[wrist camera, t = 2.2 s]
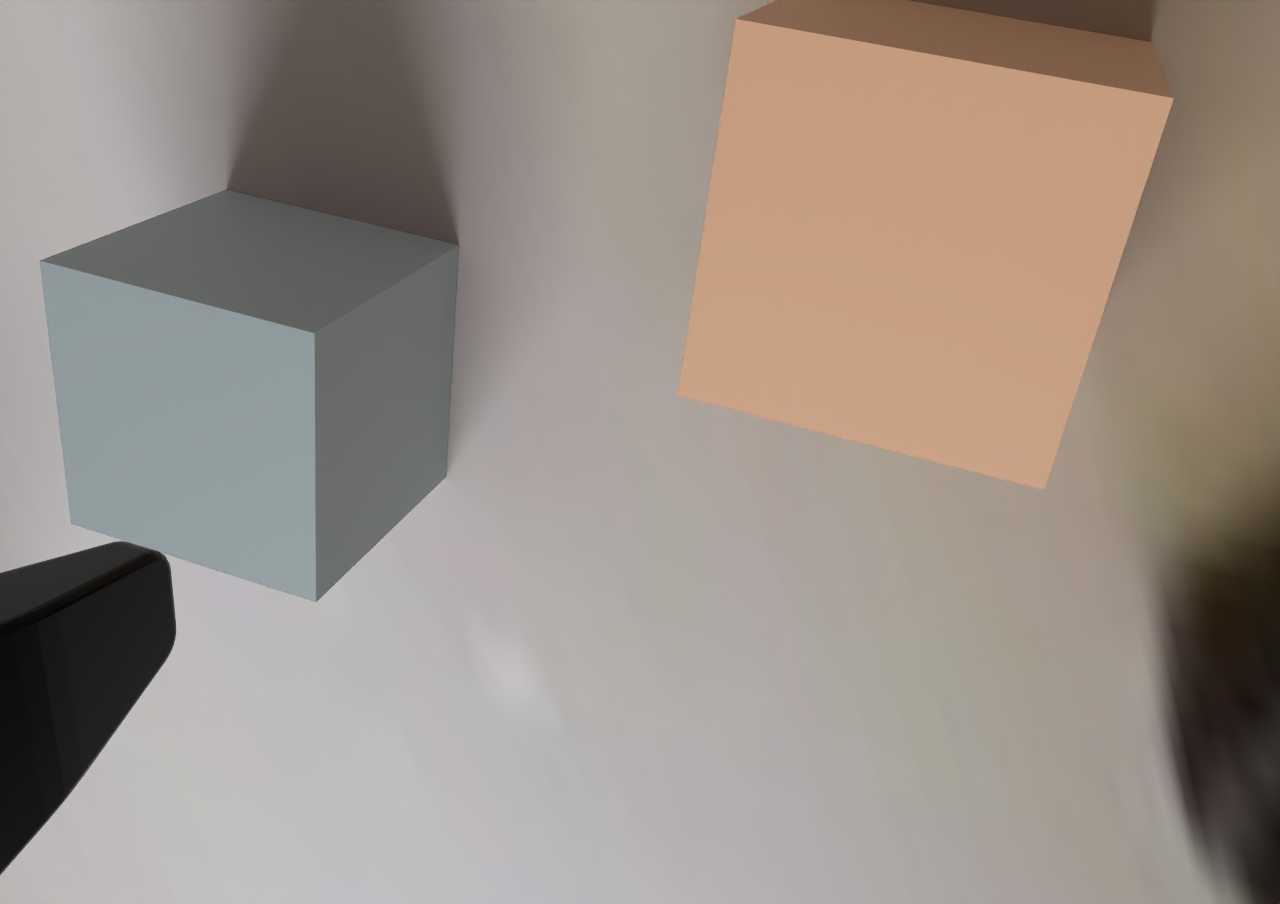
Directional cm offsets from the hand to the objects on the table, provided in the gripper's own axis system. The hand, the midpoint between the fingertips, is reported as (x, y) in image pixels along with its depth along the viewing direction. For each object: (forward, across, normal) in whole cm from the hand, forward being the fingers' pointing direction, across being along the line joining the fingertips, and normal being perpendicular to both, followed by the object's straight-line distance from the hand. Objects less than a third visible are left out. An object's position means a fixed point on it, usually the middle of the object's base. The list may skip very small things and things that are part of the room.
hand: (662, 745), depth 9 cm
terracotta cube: (+13, -1, -2) cm, 13 cm away
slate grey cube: (+13, +10, +4) cm, 17 cm away
